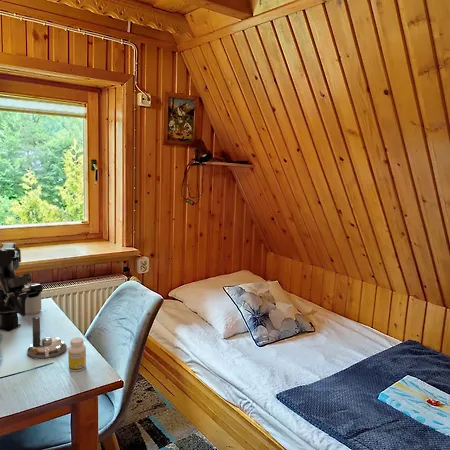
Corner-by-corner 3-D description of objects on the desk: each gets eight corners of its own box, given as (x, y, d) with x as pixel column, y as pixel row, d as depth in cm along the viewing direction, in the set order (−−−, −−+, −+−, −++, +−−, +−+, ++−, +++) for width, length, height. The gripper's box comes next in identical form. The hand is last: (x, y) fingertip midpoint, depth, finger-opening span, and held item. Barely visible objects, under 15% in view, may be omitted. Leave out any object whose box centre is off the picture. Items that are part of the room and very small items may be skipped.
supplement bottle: (73, 363, 143) (72, 335, 141) (88, 364, 142) (88, 337, 140) (65, 371, 137) (65, 342, 136) (81, 373, 137) (81, 344, 135)
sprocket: (23, 351, 147) (22, 319, 145) (45, 339, 157) (44, 309, 155) (49, 357, 143) (48, 324, 142) (70, 344, 154) (70, 314, 152)
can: (44, 312, 185) (43, 285, 183) (26, 316, 180) (26, 288, 178) (37, 307, 190) (36, 281, 188) (19, 311, 185) (18, 284, 183)
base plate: (18, 354, 146) (18, 344, 146) (45, 340, 158) (44, 330, 158) (49, 362, 142) (49, 351, 142) (74, 346, 154) (74, 336, 154)
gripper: (-13, 271, 145) (3, 311, 140) (40, 262, 159) (56, 298, 154) (-22, 288, 151) (-7, 327, 146) (30, 278, 165) (45, 313, 161)
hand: (23, 315), depth 152 cm, fingers closed
